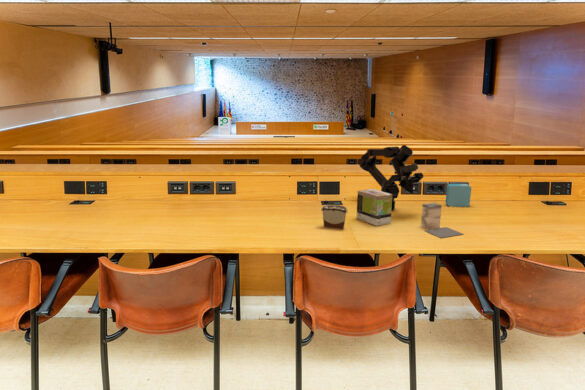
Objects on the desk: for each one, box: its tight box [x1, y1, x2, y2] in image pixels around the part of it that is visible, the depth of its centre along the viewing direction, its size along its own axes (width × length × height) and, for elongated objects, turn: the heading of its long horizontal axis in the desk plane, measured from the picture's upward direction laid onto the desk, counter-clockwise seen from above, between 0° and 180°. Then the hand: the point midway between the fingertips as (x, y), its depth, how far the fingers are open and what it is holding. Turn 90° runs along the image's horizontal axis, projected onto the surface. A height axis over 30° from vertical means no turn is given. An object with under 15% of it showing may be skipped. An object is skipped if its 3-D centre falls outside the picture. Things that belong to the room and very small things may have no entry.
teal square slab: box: [445, 183, 472, 208], centre depth 249 cm, size 12×4×12 cm, turn 86°
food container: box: [321, 204, 348, 230], centre depth 212 cm, size 12×6×10 cm, turn 71°
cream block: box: [420, 202, 443, 230], centre depth 212 cm, size 5×7×11 cm
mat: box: [423, 226, 464, 239], centre depth 205 cm, size 11×13×1 cm
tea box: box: [356, 188, 393, 227], centre depth 220 cm, size 15×10×15 cm, turn 31°
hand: (412, 193), depth 223 cm, fingers closed
